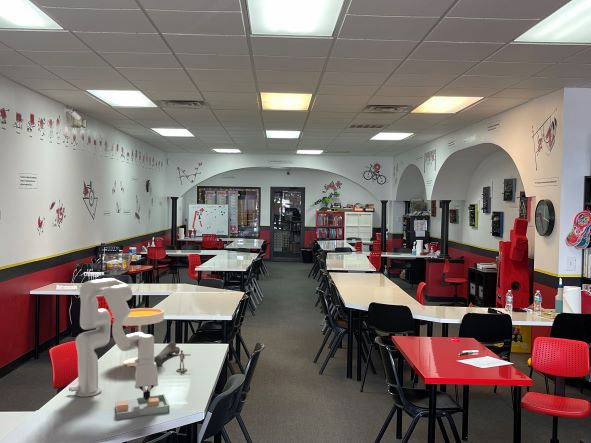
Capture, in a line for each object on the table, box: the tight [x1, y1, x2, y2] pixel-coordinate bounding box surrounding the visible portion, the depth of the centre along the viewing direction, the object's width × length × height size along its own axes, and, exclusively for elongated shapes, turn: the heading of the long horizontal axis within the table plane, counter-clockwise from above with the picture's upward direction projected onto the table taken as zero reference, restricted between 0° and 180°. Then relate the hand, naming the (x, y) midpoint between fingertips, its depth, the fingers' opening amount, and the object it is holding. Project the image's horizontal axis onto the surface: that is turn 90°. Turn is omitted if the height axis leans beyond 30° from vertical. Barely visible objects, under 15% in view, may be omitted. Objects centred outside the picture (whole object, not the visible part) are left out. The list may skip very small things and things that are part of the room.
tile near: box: [115, 400, 128, 411], centre depth 245 cm, size 5×5×2 cm
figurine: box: [172, 349, 191, 373], centre depth 313 cm, size 11×7×12 cm, turn 81°
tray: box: [136, 393, 170, 417], centre depth 253 cm, size 13×17×3 cm
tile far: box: [147, 398, 159, 407], centre depth 255 cm, size 5×5×2 cm
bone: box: [154, 341, 181, 367], centre depth 337 cm, size 32×10×9 cm, turn 171°
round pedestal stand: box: [122, 307, 165, 368], centre depth 332 cm, size 30×30×31 cm
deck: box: [114, 398, 141, 420], centre depth 248 cm, size 10×17×2 cm, turn 21°
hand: (146, 399), depth 255 cm, fingers closed
